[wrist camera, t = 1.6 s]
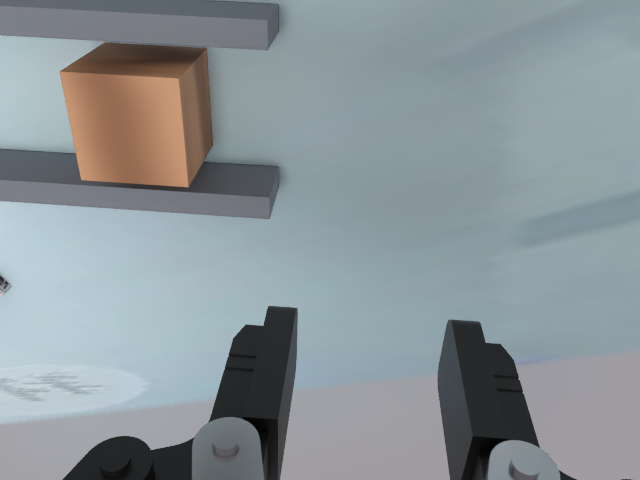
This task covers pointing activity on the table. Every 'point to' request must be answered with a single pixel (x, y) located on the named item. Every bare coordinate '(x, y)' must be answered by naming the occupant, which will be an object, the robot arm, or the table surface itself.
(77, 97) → the terracotta block
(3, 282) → the house of cards
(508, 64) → the table surface
